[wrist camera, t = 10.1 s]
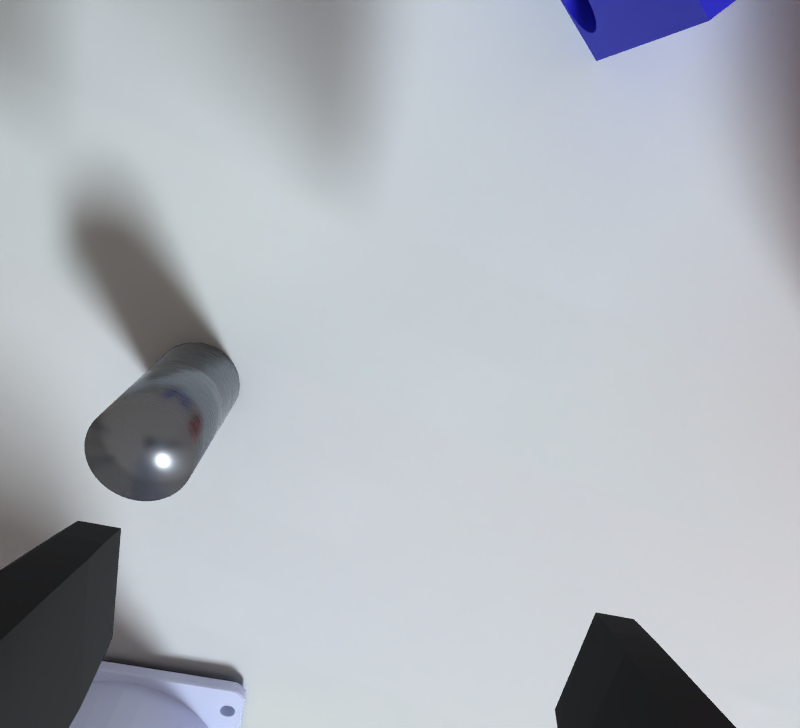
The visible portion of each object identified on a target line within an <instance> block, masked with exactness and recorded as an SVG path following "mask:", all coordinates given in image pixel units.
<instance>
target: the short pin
mask: <svg viewBox="0 0 800 728" xmlns="http://www.w3.org/2000/svg"><path fill="white" fill-rule="evenodd" d="M239 387H240V383H239V376H238V373H237V370H236V368H235V366H234V364H233V363H232V362H231V360H230V359H229V358H228V357H227V356H226V355H225V354H224V353H222V352H221V351H220V350H218V349H216V348H214V347H212V346H209V345H207V344H202V343H186V344H182V345H179V346H176V347H174V348H173V349H171V350H170V351H169V352H167V353H166V354H165V355H164V356H163V357H162V358H161V359H160V360H159V361H158V362H157V363H155V364H154V365H153V366H152V367H151V368H150V369H149V370H148V371H147V372H146V373H145V374H144V375H142V376H141V377H140V378H139V379H138V380H137V381H136V382H135V383H134V384H133V385H132V386H131V387H130V388H128V389H127V390H126V391H125V392H124V393H123V394H122V395H121V396H120V397H119V398H118V399H117V400H116V401H114V402H113V403H112V404H111V405H110V406H109V407H108V408H107V409H106V410H105V411H104V412H103V413H102V414H100V415H99V416H98V417H97V418H96V419H95V420H94V422H93V423H92V424H91V426H90V427H89V429H88V432H87V434H86V438H85V455H86V459H87V462H88V465H89V467H90V469H91V471H92V472H93V474H94V475H95V477H96V478H97V479H98V480H99V481H100V482H101V483H102V484H103V485H104V486H105V487H107V488H108V489H109V490H111V491H112V492H114V493H116V494H118V495H120V496H122V497H125V498H128V499H132V500H138V501H154V500H160V499H163V498H166V497H169V496H171V495H173V494H174V493H176V492H177V491H179V490H180V489H181V488H182V487H183V486H184V485H185V484H186V482H187V481H188V479H189V478H190V476H191V474H192V473H193V471H194V469H195V468H196V466H197V464H198V463H199V461H200V459H201V458H202V456H203V454H204V453H205V451H206V449H207V448H208V446H209V445H210V443H211V441H212V440H213V438H214V436H215V435H216V433H217V431H218V430H219V428H220V426H221V425H222V423H223V421H224V420H225V418H226V416H227V415H228V413H229V411H230V410H231V408H232V406H233V405H234V403H235V401H236V399H237V397H238V394H239Z"/></svg>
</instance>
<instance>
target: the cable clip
mask: <svg viewBox="0 0 800 728" xmlns="http://www.w3.org/2000/svg"><path fill="white" fill-rule="evenodd" d="M734 1H735V0H561V2H562V3H563V5H564V7H565V8H566V10H567V12H568V14H569V15H570V17H571V19H572V20H573V22H574V24H575V25H576V27H577V29H578V30H579V32H580V34H581V36H582V37H583V39H584V41H585V42H586V44H587V46H588V47H589V49H590V51H591V53H592V54H593V56H594V58H595V59H596V61H598V60H600V59H603V58H606V57H609V56H612V55H614V54H617V53H620V52H623V51H626V50H628V49H631V48H634V47H637V46H640V45H642V44H645V43H648V42H651V41H654V40H656V39H659V38H662V37H665V36H668V35H670V34H673V33H676V32H679V31H682V30H684V29H687V28H690V27H693V26H696V25H698V24H701V23H704V22H707V21H709V20H711V19H712V18H713V17H714V16H716V15H717V14H718V13H720V12H721V11H722V10H724V9H725V8H726V7H728V6H729V5H730V4H731V3H733V2H734Z"/></svg>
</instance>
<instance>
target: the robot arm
mask: <svg viewBox="0 0 800 728" xmlns="http://www.w3.org/2000/svg"><path fill="white" fill-rule="evenodd" d="M120 534H121V528H116V527H110V526H105V525H99V524H93V523H88V522H82V521H77V522H75V523H74V524H72V525H70V526H69V527H67V528H66V529H64V530H62V531H61V532H59V533H57V534H56V535H54V536H53V537H51V538H50V539H48V540H46V541H45V542H43V543H42V544H40V545H39V546H37V547H35V548H34V549H32V550H31V551H29V552H28V553H26V554H25V555H23V556H22V557H20V558H18V559H17V560H15V561H14V562H12V563H11V564H9V565H8V566H6V567H4V568H3V569H1V570H0V728H240V724H241V718H242V713H243V707H244V702H245V696H246V690H245V689H244V687H243V686H242V685H240V684H239V683H236V682H232V681H226V680H219V679H213V678H207V677H200V676H194V675H188V674H182V673H175V672H169V671H163V670H156V669H150V668H144V667H138V666H131V665H125V664H119V663H112V662H106V661H102V660H103V657H104V655H105V653H106V651H107V648H108V646H109V644H110V642H111V639H112V635H113V622H114V609H115V597H116V584H117V572H118V559H119V547H120ZM228 706H231V707H228ZM555 713H556V720H557V727H558V728H736V727H735V726H734V725H733V724H732V723H731V722H730V721H729V720H728V718H727V717H726V716H725V715H724V714H723V713H722V712H721V711H720V710H719V709H718V708H717V707H716V706H715V705H714V703H713V702H712V701H711V700H710V699H709V698H708V697H707V696H706V695H705V694H704V693H703V692H702V691H701V689H700V688H699V687H698V686H697V685H696V684H695V683H694V682H693V681H692V680H691V679H690V678H689V677H688V675H687V674H686V673H685V672H684V671H683V670H682V669H681V668H680V667H679V666H678V665H677V664H676V662H675V661H674V660H673V659H672V658H671V657H670V656H669V655H668V654H667V653H666V652H665V651H664V650H663V649H662V648H661V646H660V645H659V644H658V643H657V642H656V641H655V640H654V639H653V638H652V637H651V636H650V635H649V634H648V633H647V632H646V631H645V630H644V629H643V628H642V627H641V626H640V625H639V624H638V623H637V622H636V621H635V620H634V619H630V618H624V617H618V616H613V615H607V614H601V613H595V616H594V618H593V620H592V623H591V625H590V627H589V630H588V632H587V635H586V637H585V639H584V642H583V644H582V647H581V649H580V651H579V654H578V656H577V658H576V661H575V663H574V666H573V668H572V670H571V673H570V675H569V677H568V680H567V682H566V685H565V687H564V689H563V692H562V694H561V697H560V699H559V701H558V704H557V706H556V708H555Z"/></svg>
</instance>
